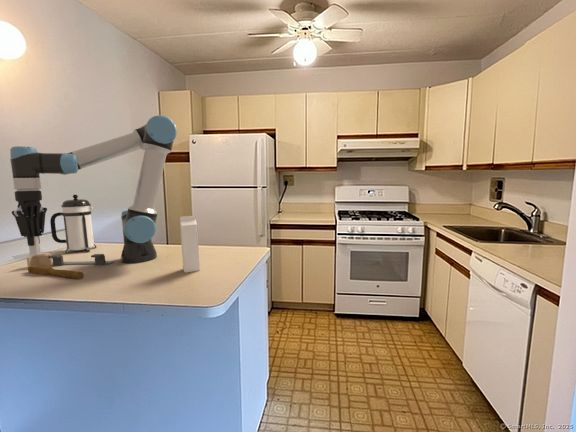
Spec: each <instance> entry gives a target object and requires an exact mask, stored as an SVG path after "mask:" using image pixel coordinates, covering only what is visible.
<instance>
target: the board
mask: <svg viewBox="0 0 576 432" xmlns="http://www.w3.org/2000/svg"><path fill="white" fill-rule="evenodd" d="M90 258H94V260H93V261H92V260H91V261H90V260H89V261H86V260H85V261H64V257H63V255H62V254H51V252H40V253H39V254H33V255H31V256H27V257H26V264H27V268H28V267H29V266H37V265H43V266H51V267H52V266H54V267H59V266H60V267H61V266H71V265H72V266H78V265H79V266H80V265H85V266H86V265H94V266H104V265H111V264H113V263H115V261H114V260H106V255H105V254H104V253H94V254H92V255H90Z"/></svg>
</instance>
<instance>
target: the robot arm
mask: <svg viewBox="0 0 576 432" xmlns="http://www.w3.org/2000/svg"><path fill="white" fill-rule="evenodd" d="M132 131H133V132H131V133H128V134H127V133H126V134H124V135H121V136H118V137H115V138H111V139H109V140H106V141H102V142H99V143H95V144H92V145H89V146H86V147H83V148H79V149H77V150H73V151H70V152H64V153H62V152H61V153H60V152H57V153H54V152H53V153H49V152H48V153H47V152H44V153H43V152H39V151H38V149H37V148H36V147H34V146H23V145H21V146H17V145H15V146H12V147H11V148H10V150H9V151H10V166H11V167H10V168H11V172H12V180H13V188H14V190H16V191H14V197H15V198H14V199H15V201H16V202H17V208H16V209H15V210H12V211H11V214H12V216H13V217H14V219H15V222H16V226H17V227H18V230H19V234H20V236H21V237H24V238H26V239H27V246H28V248H29V249H28V250H29V255H34V254H39V253H41V246H40V245H41V240H40V237H41V236H42V235H43V234H44V232H45V223H46V213H47V211H48V208H47V207H43V206H42V204H41V201H42V200H43V195H42V191H41V190H40V189H42V186H41V184H42V183H41V176H40V174H43V175H44V174H56V175H57V174H59V175H64V176H65V175H70V174H77V173H78V172H79V170H81V169H85V168H87V167H91V166H94V165H97V164H99V163H103V162H106V161H109V160H112V159H115V158H117V157H121V156H124V155H126V154H129V153H133V152H135V151H138V150H142V151H144V153H143V159H142V162H141V167H140V172H139V177H138V181H137V185H136V189H135V195H134V199H133V203H132V205H131V206H129V207H128V208H127V210H123V211H122V212H121V215H120V216H121V217H120V218H121V225H122V235H123V237H122V238H123V247H122V251H121V255H120V259H121V262H123V263H125V264H126V263H127V264H128V263H129V264H130V263H131V264H132V263H133V264H134V263H143V262H147V261H152V260H154V259H156V258H157V257H158V255H157V252H158V251H157V250H156V247H155V246H154V243H153V241H152V240H153V237H154V236H155V234H156V232H157V226H156V225H157V224H156V222H157V218H158V211H157V210H156V204H157V200H158V195H159V192H160V188H161V187H160V186H161V182H162V177H163V172H164V169H165V164H166V159H167V158H166V157H167V155H168V154H170V153H172V149H173V145H174V141H175V139H176V138H177V135H178V129H177V125H176V123H175V122H174V121H173V119H171V118H169V117H168V116H167V115H163V114H161V115H160V114H159V115H154V116H151V117H150V118H149V119H148V121H147V122H146V124H144V125H142V126H140V127H138V128H135V129H133V130H132Z"/></svg>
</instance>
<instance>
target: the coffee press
mask: <svg viewBox="0 0 576 432" xmlns="http://www.w3.org/2000/svg"><path fill="white" fill-rule="evenodd" d="M72 198H73V199H67V200H64V201H63V202H62V204H61V209H62V212H61V211H60V212H56V213H53V214H51V217H50V219H49V220H50V231H51V232H50V233H51V236H52V239H53V241H54V242H55V243H56V242H57V243H59V244H66V249H65V251H64V253H65V254H67V255H69V254H70V253H71V252H73V251H82V250H83V251H85V253H90V251H91V248H93V249H96V248H97V245H96V244H95V241H94V240H95V239H94V230H93V220H92V210H94V207H93V205H91V203H90V201H89V200H88V199H82V198H81V199H80V198H79V195H77V194H73V195H72ZM60 216H62V217H63V225H64V233H65V239H60V238H59V237H58V236H57V228H56V218H57V217H60ZM68 250H69V251H68Z"/></svg>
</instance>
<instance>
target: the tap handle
mask: <svg viewBox="0 0 576 432" xmlns="http://www.w3.org/2000/svg"><path fill="white" fill-rule="evenodd" d="M27 271H28V273H31V274H32V275H37V276H38V275H39V276H45V277H46V276H57V277H63V278H68V279H75V280H81V279H83V277H84V273H83V272H82V271H75V270H70V269H69V270H67V269H66V270H65V269H55V268H53V267H52V266H43V265H37V266H29V267H28V266H27Z"/></svg>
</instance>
